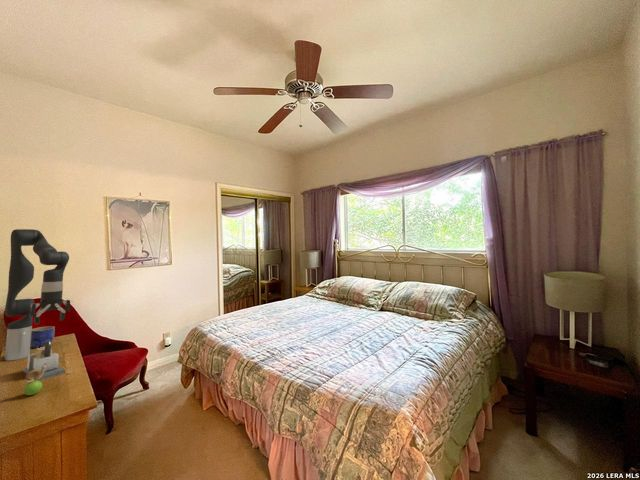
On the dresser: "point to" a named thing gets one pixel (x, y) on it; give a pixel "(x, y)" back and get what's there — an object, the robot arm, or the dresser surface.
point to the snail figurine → (34, 381)
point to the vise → (46, 373)
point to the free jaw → (47, 359)
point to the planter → (42, 336)
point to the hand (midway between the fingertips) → (49, 322)
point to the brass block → (40, 352)
